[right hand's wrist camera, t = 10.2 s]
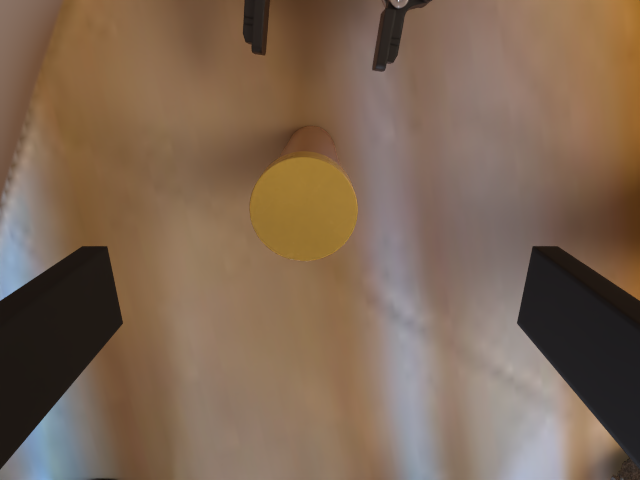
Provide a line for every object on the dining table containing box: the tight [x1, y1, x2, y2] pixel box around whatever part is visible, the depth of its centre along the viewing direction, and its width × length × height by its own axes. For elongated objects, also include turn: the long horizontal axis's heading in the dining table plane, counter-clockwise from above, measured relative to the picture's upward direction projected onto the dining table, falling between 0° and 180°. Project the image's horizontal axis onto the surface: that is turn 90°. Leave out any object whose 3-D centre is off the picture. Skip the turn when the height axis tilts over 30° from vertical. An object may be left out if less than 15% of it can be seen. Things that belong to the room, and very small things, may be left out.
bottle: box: [279, 126, 340, 165], centre depth 27 cm, size 4×4×19 cm
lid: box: [250, 151, 358, 261], centre depth 19 cm, size 5×5×2 cm
